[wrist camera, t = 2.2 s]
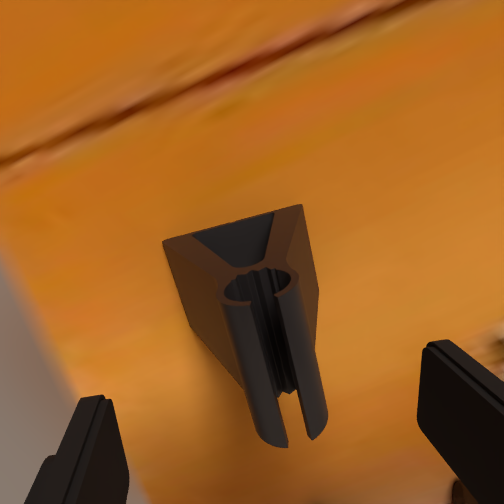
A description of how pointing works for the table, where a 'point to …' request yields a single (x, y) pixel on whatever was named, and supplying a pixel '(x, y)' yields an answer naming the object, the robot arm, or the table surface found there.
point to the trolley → (462, 494)
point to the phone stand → (257, 311)
